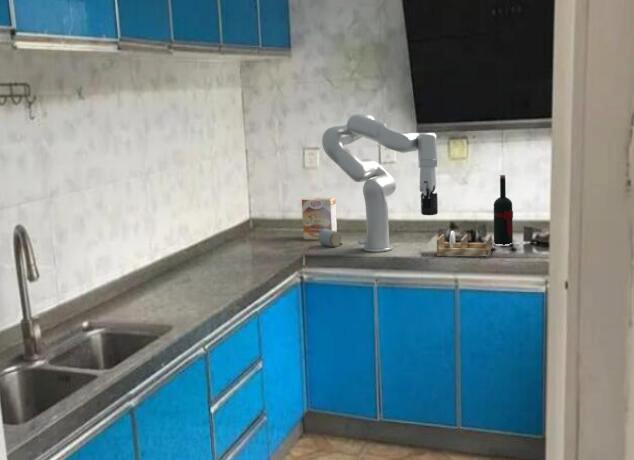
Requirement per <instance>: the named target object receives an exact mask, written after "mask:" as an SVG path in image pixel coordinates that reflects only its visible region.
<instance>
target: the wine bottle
mask: <svg viewBox="0 0 634 460" xmlns="http://www.w3.org/2000/svg"><path fill="white" fill-rule="evenodd" d="M506 189H507V188H506V175H505V174H499V195H500V197H498V198H496V199H495V201H494V202H493V244H494V243H495V244H503V245H505V244H510V243H512V242H513V241H514V240H513V239H514V238H513V237H514V236H513V235H514V234H513V233H514V231H513V219H514V212H513V211H514V210H513V202H512V200H511V199H510V198H509V197H506ZM513 243H514V242H513Z"/></svg>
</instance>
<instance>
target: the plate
mask: <svg viewBox="0 0 634 460" xmlns="http://www.w3.org/2000/svg"><path fill="white" fill-rule="evenodd" d="M449 243H450V248H455V243H456V233H455V231H454V230H451V231H450V233H449Z"/></svg>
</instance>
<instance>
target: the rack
mask: <svg viewBox="0 0 634 460" xmlns="http://www.w3.org/2000/svg"><path fill="white" fill-rule="evenodd" d="M468 235H469V234H464V236H463V237H461V240H460V242H455V248H450V242H449V241H448V242H447V241H445V233H442V234H440V235H439V237H438V238H437V239H436V256H437V257H455V256H454V255H467V256H488V254H489V253H490V251H491V249H492V250H493V244H492V242H493V237H492V236H493V235H492V234H489V235H488V237H487V238H486V239H485V242H469V241H468V239H469V236H468ZM491 252H492V251H491ZM490 254H491V253H490ZM488 257H489V256H488Z"/></svg>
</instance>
